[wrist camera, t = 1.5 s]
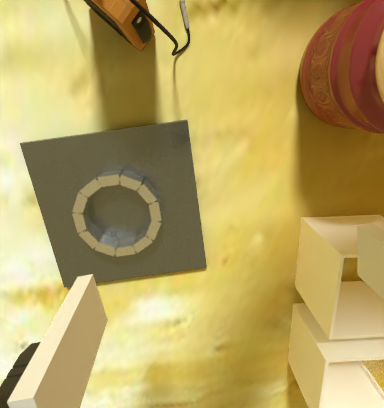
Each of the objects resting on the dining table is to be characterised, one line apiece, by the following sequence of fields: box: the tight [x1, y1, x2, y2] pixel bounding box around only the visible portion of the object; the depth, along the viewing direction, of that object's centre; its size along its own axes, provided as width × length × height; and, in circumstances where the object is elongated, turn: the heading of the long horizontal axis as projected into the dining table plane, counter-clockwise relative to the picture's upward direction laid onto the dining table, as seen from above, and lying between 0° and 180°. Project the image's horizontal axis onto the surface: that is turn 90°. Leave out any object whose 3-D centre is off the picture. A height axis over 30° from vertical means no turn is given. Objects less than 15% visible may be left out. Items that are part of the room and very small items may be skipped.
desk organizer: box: [288, 214, 384, 408], centre depth 41 cm, size 25×11×11 cm, turn 1°
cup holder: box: [20, 120, 207, 287], centre depth 39 cm, size 20×20×4 cm
